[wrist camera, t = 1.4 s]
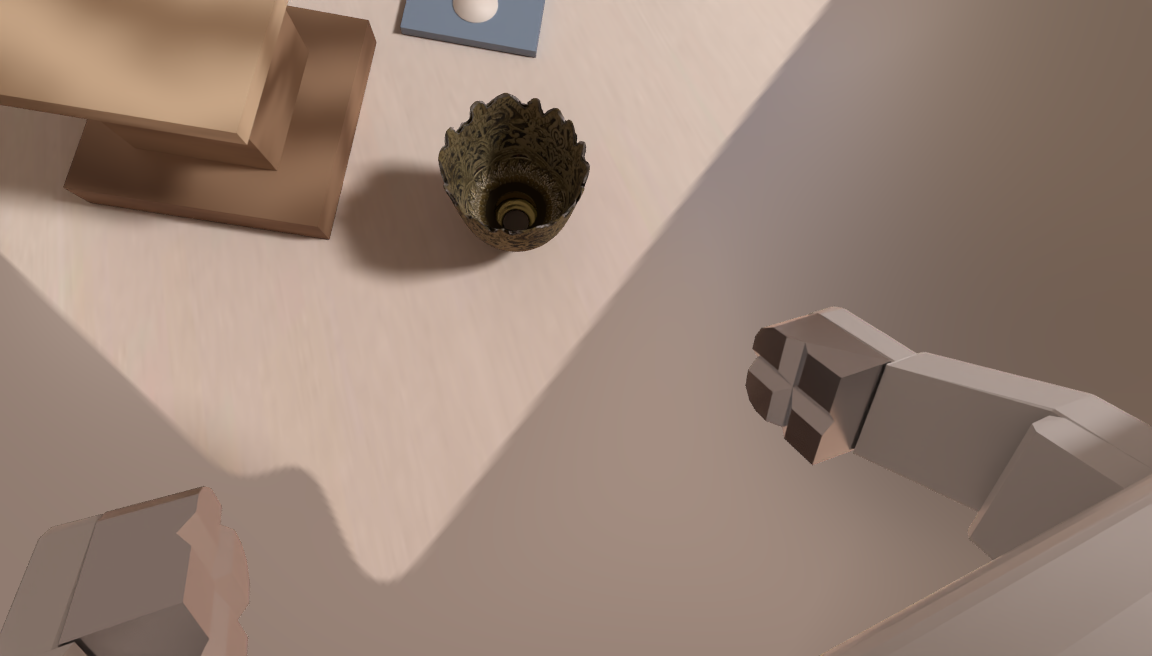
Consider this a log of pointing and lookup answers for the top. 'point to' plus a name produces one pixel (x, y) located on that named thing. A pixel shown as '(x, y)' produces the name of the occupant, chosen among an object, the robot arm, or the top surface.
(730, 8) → the top surface
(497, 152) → the cup
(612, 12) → the top surface
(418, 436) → the top surface
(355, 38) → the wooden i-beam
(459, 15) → the board
